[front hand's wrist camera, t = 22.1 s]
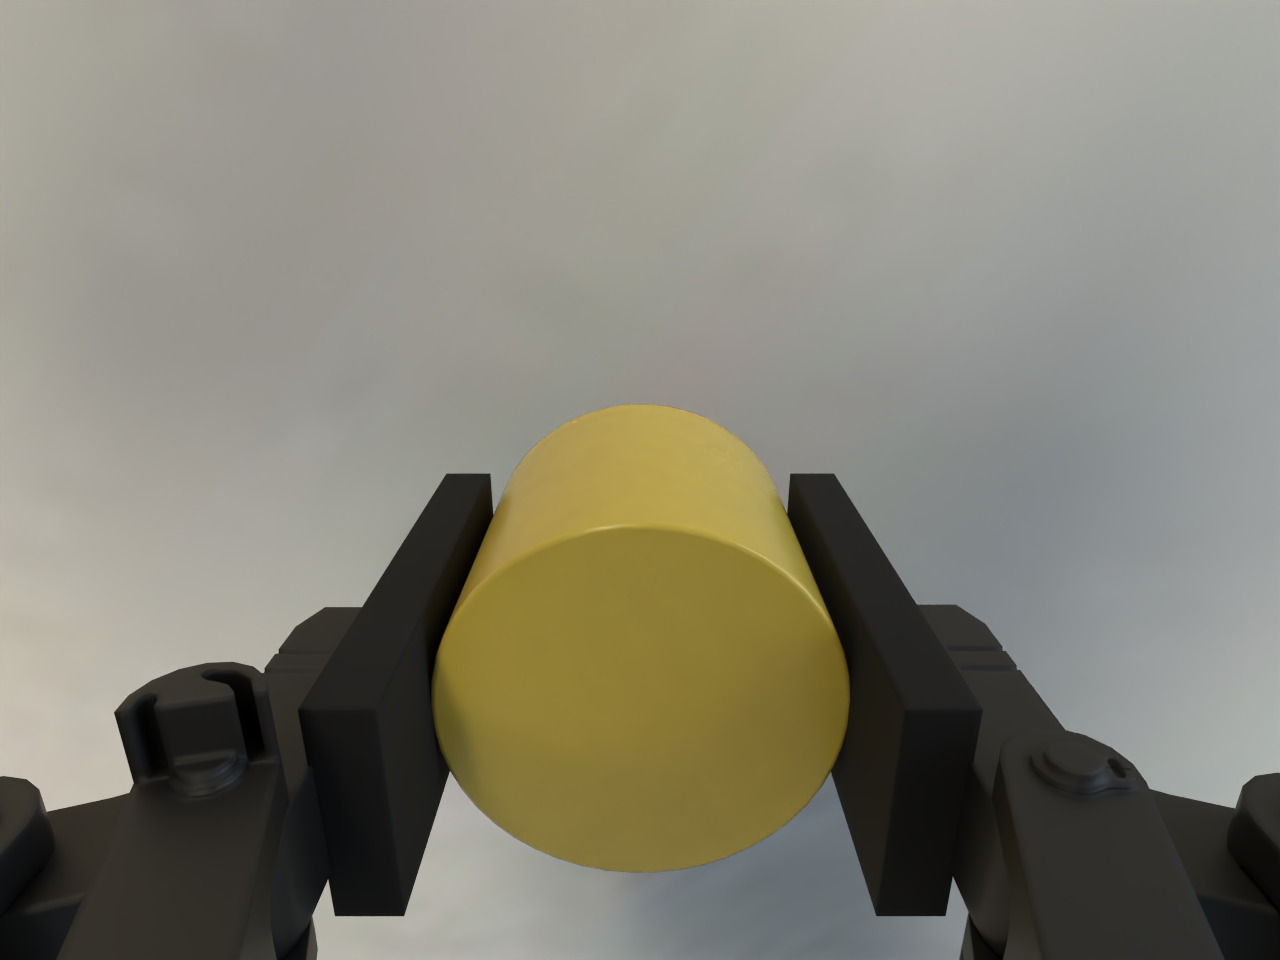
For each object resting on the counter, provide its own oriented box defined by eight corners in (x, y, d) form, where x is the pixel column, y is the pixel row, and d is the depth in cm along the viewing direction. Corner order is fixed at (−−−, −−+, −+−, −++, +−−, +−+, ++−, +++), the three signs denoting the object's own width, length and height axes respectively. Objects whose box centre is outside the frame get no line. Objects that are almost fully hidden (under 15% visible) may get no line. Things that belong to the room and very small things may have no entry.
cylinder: (515, 377, 14) (450, 487, 9) (817, 431, 14) (905, 564, 9) (480, 642, 15) (412, 846, 11) (748, 684, 16) (793, 899, 11)
